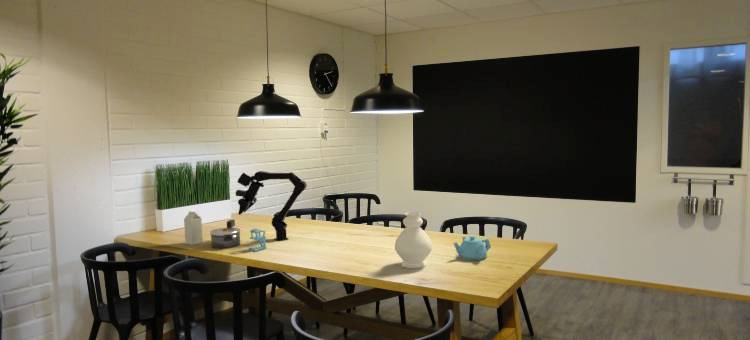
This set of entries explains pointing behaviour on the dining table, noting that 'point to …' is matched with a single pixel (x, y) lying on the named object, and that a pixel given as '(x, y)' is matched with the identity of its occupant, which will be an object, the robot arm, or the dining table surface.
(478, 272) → the dining table surface
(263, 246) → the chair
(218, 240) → the cooker pot
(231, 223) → the cooker lid
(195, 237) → the milk carton
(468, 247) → the teapot
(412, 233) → the decorative vase
